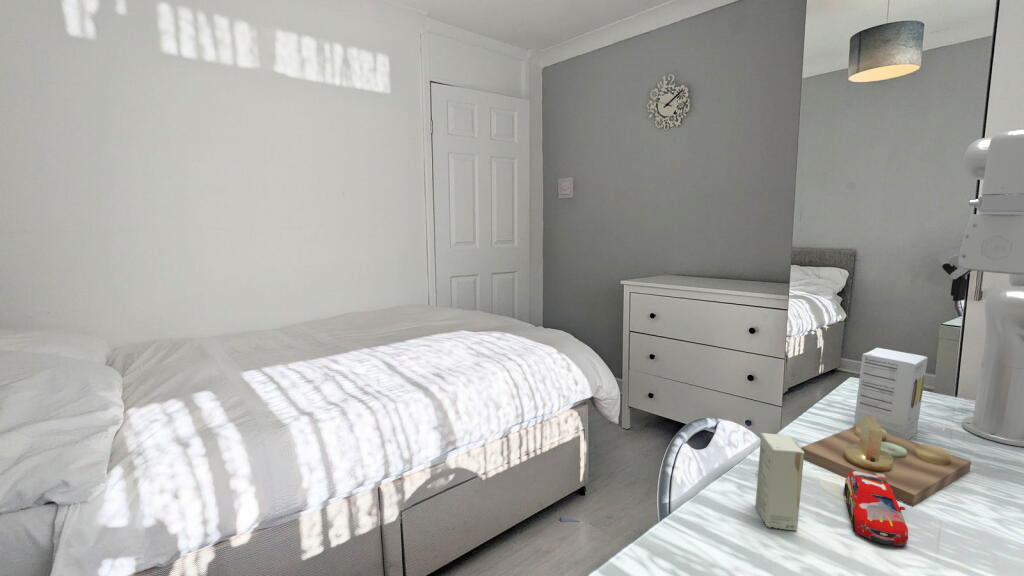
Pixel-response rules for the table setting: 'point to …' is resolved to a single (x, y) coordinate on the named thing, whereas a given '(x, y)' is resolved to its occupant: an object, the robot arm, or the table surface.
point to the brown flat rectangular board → (912, 467)
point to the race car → (874, 509)
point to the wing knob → (869, 448)
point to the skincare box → (779, 481)
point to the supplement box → (891, 390)
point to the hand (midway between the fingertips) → (993, 305)
